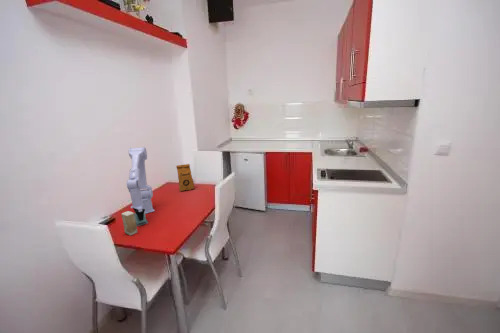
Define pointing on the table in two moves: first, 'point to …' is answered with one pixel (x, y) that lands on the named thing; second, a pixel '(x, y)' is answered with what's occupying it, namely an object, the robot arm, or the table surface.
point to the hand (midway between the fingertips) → (140, 218)
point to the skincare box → (129, 222)
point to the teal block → (138, 219)
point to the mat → (141, 223)
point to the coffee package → (185, 177)
